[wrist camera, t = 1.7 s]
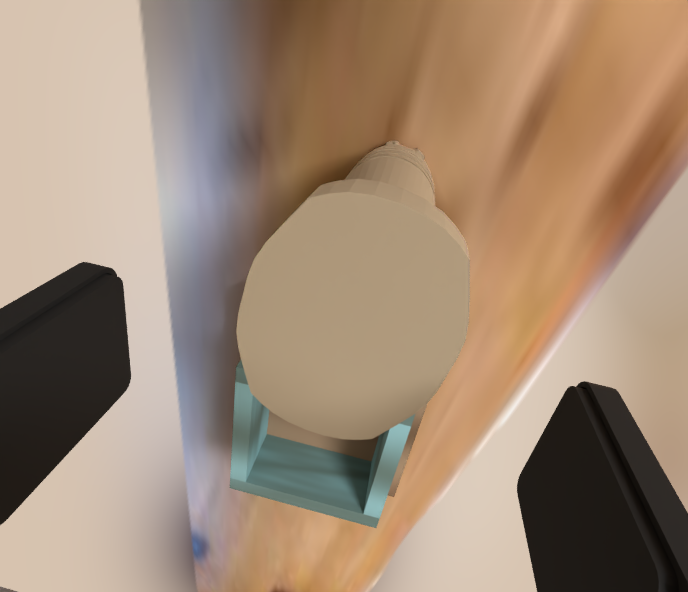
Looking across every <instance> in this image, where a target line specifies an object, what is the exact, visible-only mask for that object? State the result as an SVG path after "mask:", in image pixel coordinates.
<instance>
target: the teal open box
mask: <svg viewBox="0 0 688 592" xmlns="http://www.w3.org/2000/svg"><path fill="white" fill-rule="evenodd" d="M426 406H427V405H425V406H424V407H423V408H421V409H420V410H419V411H418V412H416V413H415V414H414V415H412V416H411V417H409V418H408V419H406V420H404V421H403V422H401V423H399V424H398V425H396V426H394V427H393V428H391V429H389V430H387V431H385V432H384V433H382V434H380V435H378V436H377V437H375V438H373V439H366V440H347V439H338V438H333V437H328V436H324V435H321V434H317V433H314V432H311V431H308V430H305V429H303V428H301V427H298V426H296V425H294V424H292V423H290V422H287V421H286V420H284V419H282V418H281V417H279V416H277V415H276V414H274V413H272V412H271V411H270V410H269V409H268V408H266V407H265V406H264V405H263V404H261V403H260V402H259V401H258V400H257V399H256V397H255V396H254V395H253V394H252V393H251V391H250V388H249V385H248V381H247V378H246V375H245V371H244V368H243V364H242V360H241V356H240V362H239V363H238V365H237V367H236V378H235V397H234V416H233V436H232V455H231V474H230V488H232V489H235V490H239V491H243V492H246V493H250V494H254V495H257V496H261V497H264V498H268V499H272V500H275V501H279V502H283V503H286V504H290V505H294V506H297V507H301V508H305V509H308V510H312V511H315V512H319V513H323V514H326V515H330V516H334V517H337V518H341V519H345V520H348V521H352V522H356V523H359V524H363V525H367V526H370V527H374V528H376V527H377V524H378V521H379V518H380V515H381V513H382V510H383V507H384V504H385V501H386V498H387V495H388V496H392V497H394V496H395V493H396V490H397V487H398V484H399V482H400V479H401V476H402V473H403V470H404V468H405V465H406V462H407V459H408V456H409V454H410V451H411V448H412V445H413V442H414V440H415V437H416V434H417V431H418V428H419V426H420V423H421V420H422V417H423V415H424V412H425V409H426Z"/></svg>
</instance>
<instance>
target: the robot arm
mask: <svg viewBox="0 0 688 592" xmlns="http://www.w3.org/2000/svg"><path fill="white" fill-rule="evenodd" d="M130 379H131V371H130V358H129V347H128V335H127V324H126V312H125V301H124V289H123V282H122V280H121V278H119V277H117V274H116V272H115V271H114V270H113V269H112V268H108V267H104V266H100V265H96V264H91V263H87V262H82V263H80V264H78V265H76V266H74V267H72V268H71V269H69V270H67V271H65V272H64V273H62V274H60V275H58V276H57V277H55V278H53V279H51V280H50V281H48V282H46V283H45V284H43V285H41V286H39V287H37V288H36V289H34V290H32V291H30V292H29V293H27V294H25V295H24V296H22V297H20V298H18V299H17V300H15V301H13V302H11V303H10V304H8V305H6V306H4V307H3V308H1V309H0V525H1V524H2V523H4V522H5V521H6V520H7V519H8V518H9V517H10V515H12V513H13V512H14V511H15V510H16V509H17V508H18V507H19V506H20V505H21V504H22V503H23V501H24V500H25V499H26V498H27V497H28V496H29V495H30V494H31V493H32V492H33V491H34V490H35V488H37V486H38V485H39V484H40V483H41V482H42V481H43V480H44V479H45V478H46V477H47V475H49V473H50V472H51V471H52V470H53V469H54V468H55V467H56V466H57V465H58V464H59V463H60V462H61V460H62V459H63V458H64V457H65V456H66V455H67V454H68V453H69V451H71V450H72V448H74V446H75V445H76V444H77V443H78V442H79V441H80V440H81V439H82V438H83V437H84V436H85V435H86V433H87V432H88V431H89V430H90V429H91V428H92V427H93V426H94V425H95V424H96V423H97V422H98V420H99V419H100V418H101V417H102V416H103V415H104V414H105V413H106V412H107V411H108V410H109V409H110V408H111V406H112V405H113V404H114V403H115V402H116V401H117V400H118V399H119V398H120V397H121V396H122V395H123V393H124V392H125V391H126V390H127V388H128V386H129V383H130ZM517 493H518V499H519V503H520V508H521V514H522V519H523V524H524V528H525V533H526V538H527V543H528V548H529V553H530V558H531V562H532V568H533V573H534V578H535V582H536V588H537V592H688V513H687V511H686V509H685V508H684V506H683V504H682V502H681V501H680V499H679V497H678V496H677V494H676V492H675V490H674V488H673V487H672V485H671V483H670V482H669V480H668V478H667V476H666V474H665V473H664V471H663V469H662V468H661V466H660V464H659V462H658V461H657V459H656V457H655V455H654V454H653V452H652V450H651V448H650V446H649V445H648V443H647V441H646V440H645V438H644V436H643V434H642V433H641V431H640V429H639V427H638V426H637V424H636V422H635V420H634V419H633V417H632V415H631V413H630V412H629V410H628V408H627V406H626V405H625V403H624V401H623V399H622V398H621V396H620V394H619V393H618V391H617V390H616V389H613V388H610V387H606V386H602V385H598V384H593V383H589V382H581V383H579V384H578V385H577V386H576V387H574V386H570V387H569V388H568V389H567V390H566V392H565V393H564V395H563V397H562V399H561V401H560V402H559V404H558V406H557V408H556V410H555V412H554V413H553V415H552V417H551V419H550V421H549V423H548V425H547V426H546V428H545V430H544V432H543V434H542V435H541V437H540V439H539V441H538V443H537V445H536V446H535V448H534V450H533V452H532V454H531V456H530V457H529V459H528V461H527V463H526V465H525V467H524V468H523V470H522V472H521V474H520V476H519V479H518V484H517ZM0 592H17V591H13V590H10V589H6V588H3V587H0Z"/></svg>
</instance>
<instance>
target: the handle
mask: <svg viewBox="0 0 688 592" xmlns="http://www.w3.org/2000/svg"><path fill="white" fill-rule="evenodd" d="M424 159H425V157H424V155H423V153H422V152H421V151H420V150H419V149H417V148H415V149H411V148H409V147H406V146H403V145H401V144H400V143H399V141H388V142H387V143H386V144H385V146H381V147H378V148H376V149H374V150H373V151H371V152H369V153H368V154H367V155H366V156H364V157H363V158H362V159H361V160H360V161H359V162H358V163H357V164H356V165H355V166H354V167H353V169H352V170H351V171H350V173H349V174H348V176H347V177H346V178H345V180H338V181H334V182H330V183H326V184H322V185H320V186H319V187H318V188H317V189H316V190H315V191H314V192H313V193H312V194H311V195H310V196H309V197H308V198H307V199H306V200H305V201H304V202H303V203H302V204H301V205H300V206H299V207H298V208H297V209H296V210H295V211H294V212H293V213H292V214H291V215H290V216H289V217H288V218H287V220H286V221H285V222H284V223H283V224H282V225H281V226H280V227H279V228H278V229H277V230H276V231H275V232H274V234H273V235H272V236H271V237H270V238H269V239H268V240H267V242H266V243H265V244H264V246H263V247H262V248H261V250H260V251H259V253H258V254H257V255H256V257H255V258H254V260H253V263H252V266H251V268H250V271H249V274H248V276H247V280H246V284H245V288H244V292H243V296H242V300H241V304H240V308H239V312H238V319H237V328H236V334H237V342H238V349H239V353H240V356H241V360H242V364H243V368H244V371H245V375H246V378H247V381H248V385H249V388H250V391H251V393H252V394H253V395H254V396H255V397H256V399H257V400H258V401H259V402H260V403H261V404H263V405H264V406H265V407H266V408H268V409H269V410H270V411H271V412H272V413H274V414H276V415H277V416H279V417H281V418H282V419H284V420H286V421H287V422H290V423H292V424H294V425H296V426H298V427H301V428H303V429H305V430H308V431H311V432H314V433H317V434H321V435H324V436H328V437H333V438H338V439H347V440H366V439H373V438H375V437H377V436H378V435H380V434H382V433H384V432H385V431H387V430H389V429H391V428H393V427H394V426H396V425H398V424H399V423H401V422H403V421H404V420H406V419H408V418H409V417H411V416H412V415H414V414H415V413H416V412H418V411H419V410H420V409H421V408H423V407H424V406H425V405H427V403H428V402H429V401H430V400H431V398H432V397H433V396H434V395H435V393H436V392H437V391H438V389H439V388H440V386H441V384H442V383H443V381H444V379H445V378H446V376H447V374H448V373H449V371H450V370H451V368H452V366H453V365H454V363H455V361H456V360H457V358H458V356H459V354H460V351H461V349H462V347H463V345H464V343H465V340H466V335H467V329H468V323H469V303H470V259H469V253H468V247H467V243H466V241H465V239H464V237H463V236H462V234H461V233H460V231H459V230H458V228H457V227H456V225H455V224H454V223H453V222H452V221H451V220H450V219H449V218H448V217H447V215H446V214H445V213H444V212H443V211H441V210H440V209H438V208H437V207H436V206H435V189H434V182H433V178H432V175H431V171H430V169H429V167H428V165H427V163H426V162H425V160H424Z"/></svg>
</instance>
